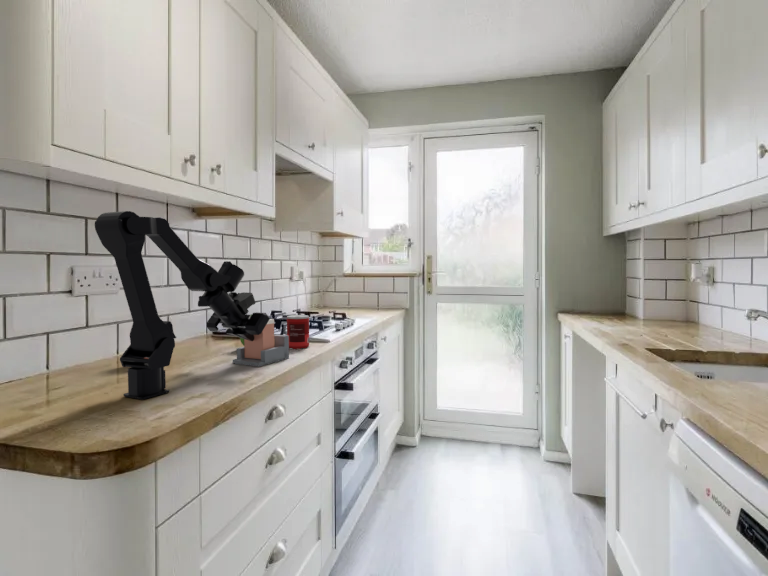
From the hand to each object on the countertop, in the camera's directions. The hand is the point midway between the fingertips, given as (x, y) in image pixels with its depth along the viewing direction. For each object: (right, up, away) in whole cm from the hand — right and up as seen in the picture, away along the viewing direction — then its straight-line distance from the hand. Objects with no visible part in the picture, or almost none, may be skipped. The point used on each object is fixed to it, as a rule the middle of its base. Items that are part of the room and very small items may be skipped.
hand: (252, 340), depth 126 cm
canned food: (+8, -6, +26) cm, 28 cm away
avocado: (-7, -6, +22) cm, 24 cm away
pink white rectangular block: (+1, -5, +3) cm, 6 cm away
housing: (+2, -7, +3) cm, 7 cm away
